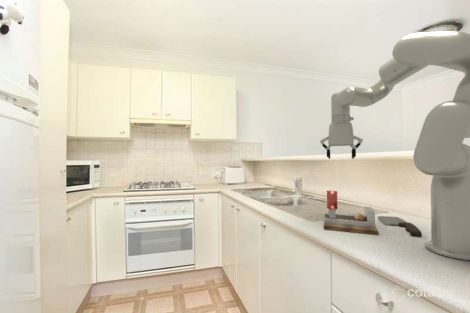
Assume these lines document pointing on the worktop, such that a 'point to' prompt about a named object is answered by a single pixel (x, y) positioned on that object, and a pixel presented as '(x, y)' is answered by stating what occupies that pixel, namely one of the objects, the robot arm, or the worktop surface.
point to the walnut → (359, 217)
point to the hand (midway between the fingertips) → (340, 158)
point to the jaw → (332, 203)
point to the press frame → (349, 219)
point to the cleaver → (400, 224)
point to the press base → (352, 229)
